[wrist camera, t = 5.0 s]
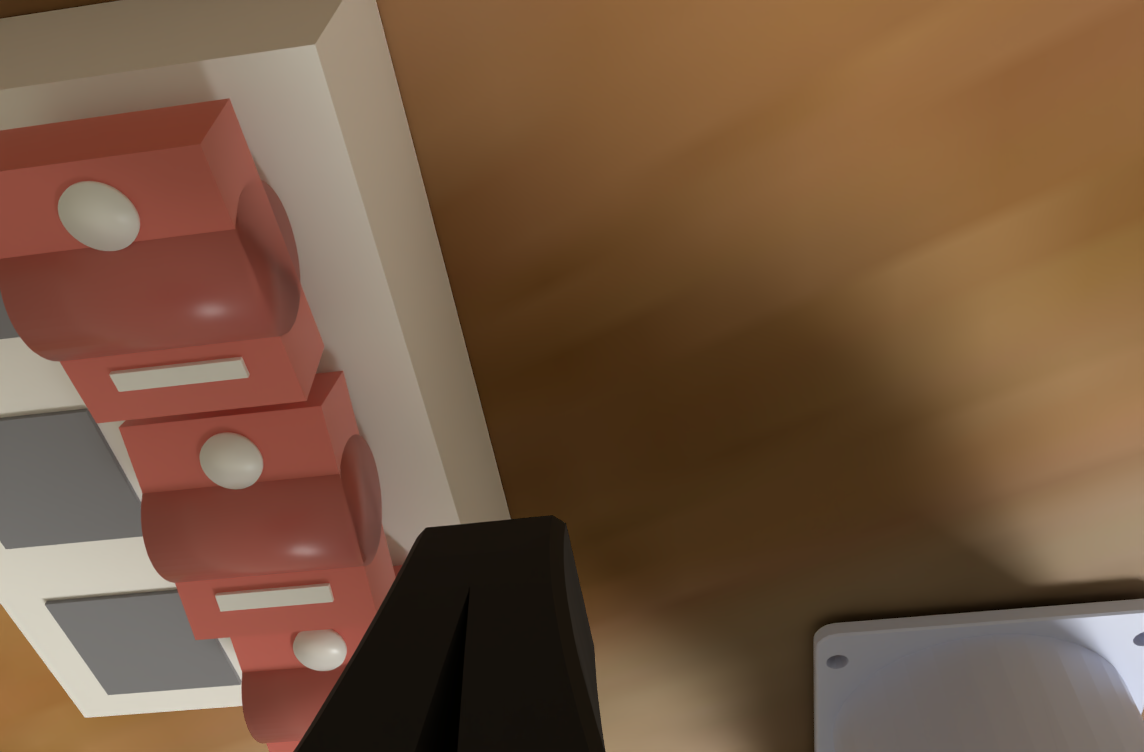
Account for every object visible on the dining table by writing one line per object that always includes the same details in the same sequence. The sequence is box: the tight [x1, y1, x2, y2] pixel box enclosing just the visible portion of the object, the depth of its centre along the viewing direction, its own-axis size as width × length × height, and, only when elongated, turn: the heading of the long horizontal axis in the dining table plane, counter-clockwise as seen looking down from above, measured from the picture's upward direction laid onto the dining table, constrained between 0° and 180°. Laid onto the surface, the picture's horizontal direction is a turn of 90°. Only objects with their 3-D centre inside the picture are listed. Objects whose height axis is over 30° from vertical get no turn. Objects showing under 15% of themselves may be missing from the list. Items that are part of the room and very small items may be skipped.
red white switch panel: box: [0, 0, 511, 718], centre depth 18 cm, size 13×9×4 cm
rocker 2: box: [230, 565, 402, 752], centre depth 18 cm, size 4×3×2 cm
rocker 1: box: [0, 98, 324, 423], centre depth 13 cm, size 4×3×2 cm
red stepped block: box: [119, 371, 396, 640], centre depth 16 cm, size 4×3×2 cm
